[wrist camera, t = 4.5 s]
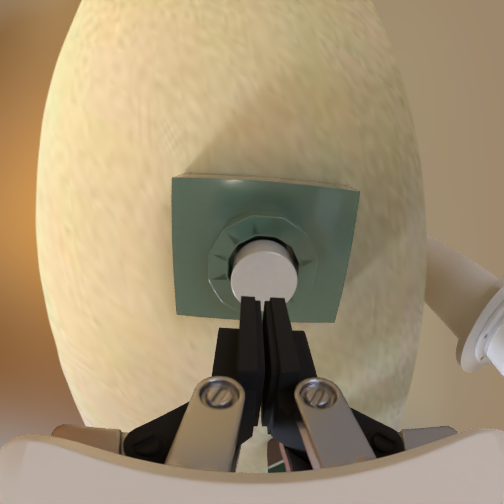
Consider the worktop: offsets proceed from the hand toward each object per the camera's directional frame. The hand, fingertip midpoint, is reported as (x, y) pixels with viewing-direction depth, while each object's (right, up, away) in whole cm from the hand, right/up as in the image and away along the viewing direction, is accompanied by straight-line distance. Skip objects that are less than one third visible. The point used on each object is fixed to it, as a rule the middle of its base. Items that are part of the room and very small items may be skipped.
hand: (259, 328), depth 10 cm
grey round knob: (0, +2, +6) cm, 6 cm away
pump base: (0, +4, +10) cm, 11 cm away
